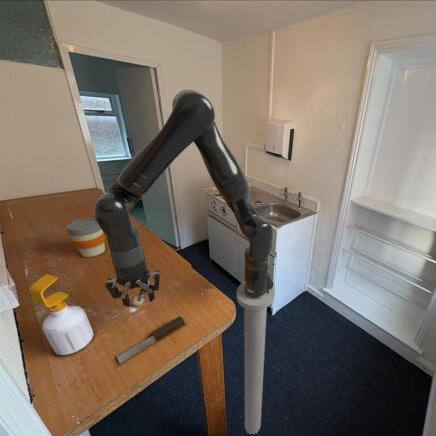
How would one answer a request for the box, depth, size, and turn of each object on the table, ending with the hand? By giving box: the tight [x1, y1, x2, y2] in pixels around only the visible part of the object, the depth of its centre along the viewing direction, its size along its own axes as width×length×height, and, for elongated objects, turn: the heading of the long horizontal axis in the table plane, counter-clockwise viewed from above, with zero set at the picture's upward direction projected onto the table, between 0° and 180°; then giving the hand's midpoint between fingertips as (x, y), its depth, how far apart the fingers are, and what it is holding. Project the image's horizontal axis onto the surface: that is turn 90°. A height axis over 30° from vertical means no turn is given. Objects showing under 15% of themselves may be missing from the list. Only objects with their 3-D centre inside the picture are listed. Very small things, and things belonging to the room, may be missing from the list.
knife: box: [116, 315, 185, 364], centre depth 73 cm, size 19×3×2 cm, turn 139°
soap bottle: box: [29, 273, 94, 356], centre depth 66 cm, size 9×9×25 cm
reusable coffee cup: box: [66, 217, 106, 258], centre depth 109 cm, size 13×12×15 cm
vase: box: [129, 287, 148, 314], centre depth 73 cm, size 5×5×6 cm
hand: (140, 302), depth 74 cm, fingers closed on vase, 5 cm apart
